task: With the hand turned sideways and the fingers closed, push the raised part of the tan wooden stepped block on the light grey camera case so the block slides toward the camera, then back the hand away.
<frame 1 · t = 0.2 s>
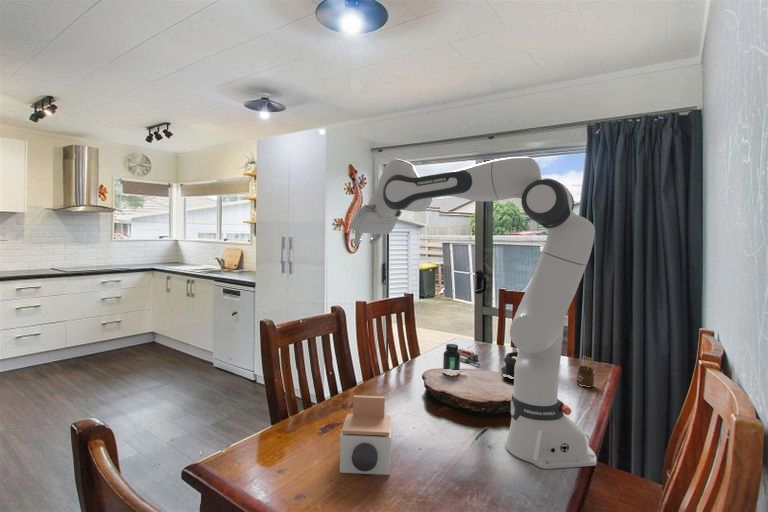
hand: (364, 243, 138), 54 cm above the table, tool tilted 30°, fingers open, 8 cm apart
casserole: (524, 377, 171), on the table
tan wooden stepped block: (367, 414, 103), point 12 cm above the table, slide at 0.0 cm
supplement bottle: (451, 374, 172), on the table
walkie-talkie: (468, 361, 192), on the table
camera case: (366, 462, 104), on the table
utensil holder: (585, 386, 162), on the table
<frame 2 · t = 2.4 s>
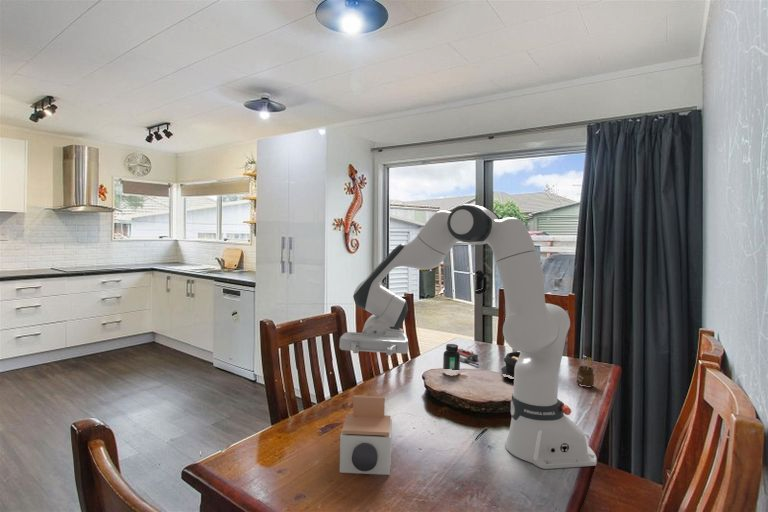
hand: (372, 351, 116), 24 cm above the table, tool horizontal, fingers open, 8 cm apart
nothing on the table moved.
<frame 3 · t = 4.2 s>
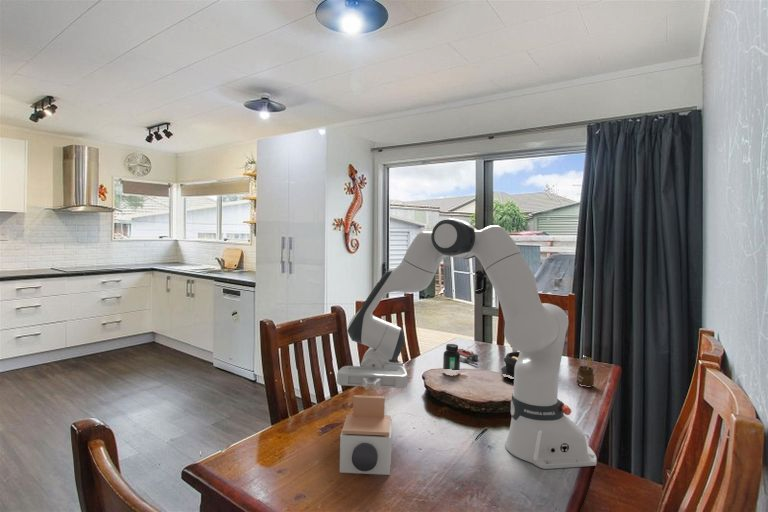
hand: (370, 387, 112), 16 cm above the table, tool horizontal, fingers closed
nothing on the table moved.
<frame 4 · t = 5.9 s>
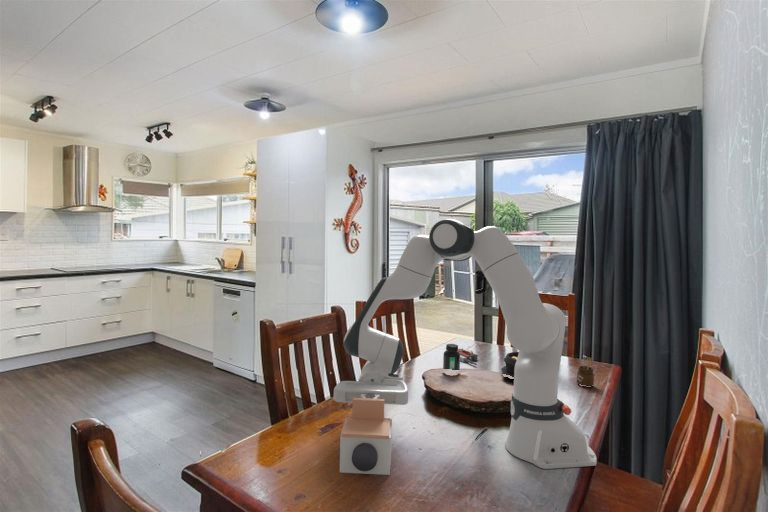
hand: (368, 404, 106), 13 cm above the table, tool horizontal, fingers closed, pressing on tan wooden stepped block
tan wooden stepped block: (367, 417, 101), point 12 cm above the table, slide at 1.6 cm, touching gripper
everything else where it was.
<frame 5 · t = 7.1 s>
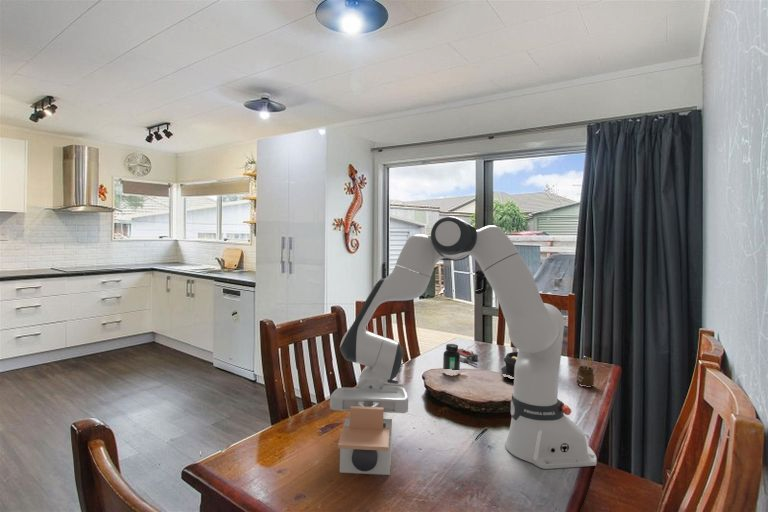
hand: (367, 413, 101), 13 cm above the table, tool horizontal, fingers closed, pressing on tan wooden stepped block
tan wooden stepped block: (365, 427, 96), point 12 cm above the table, slide at 6.9 cm, touching gripper
everything else where it was.
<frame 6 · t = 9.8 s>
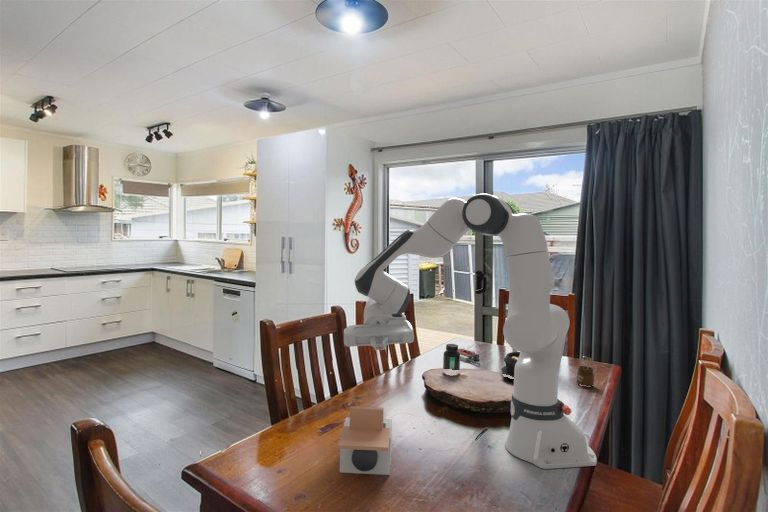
hand: (379, 347, 114), 26 cm above the table, tool horizontal, fingers closed
tan wooden stepped block: (365, 427, 96), point 12 cm above the table, slide at 7.0 cm
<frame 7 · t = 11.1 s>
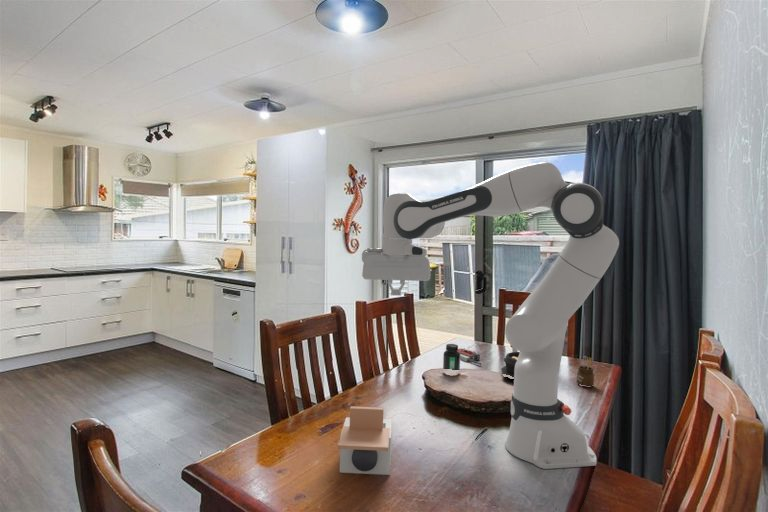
hand: (395, 295, 123), 39 cm above the table, tool pointing down, fingers closed
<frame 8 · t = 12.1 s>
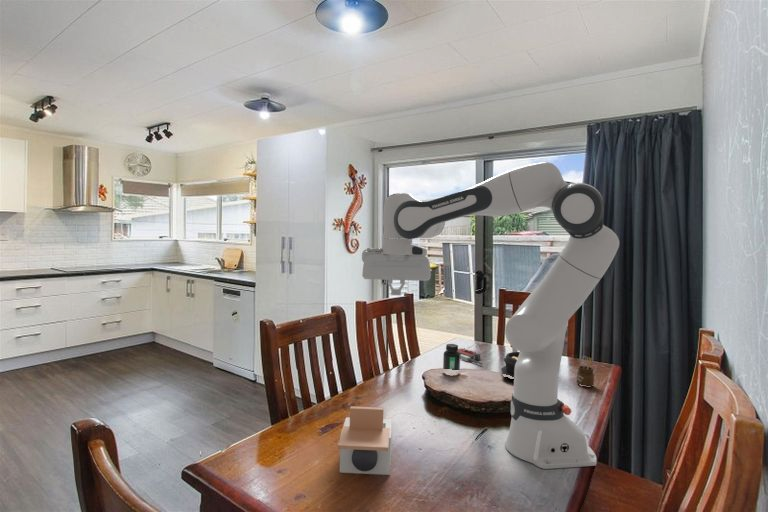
hand: (396, 295, 123), 39 cm above the table, tool pointing down, fingers closed
at the end: tan wooden stepped block slide at 7.0 cm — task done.
